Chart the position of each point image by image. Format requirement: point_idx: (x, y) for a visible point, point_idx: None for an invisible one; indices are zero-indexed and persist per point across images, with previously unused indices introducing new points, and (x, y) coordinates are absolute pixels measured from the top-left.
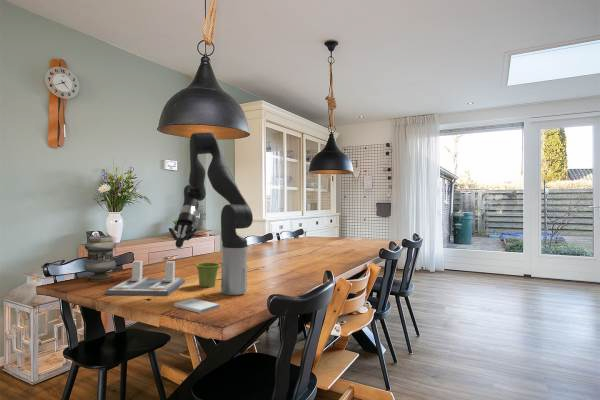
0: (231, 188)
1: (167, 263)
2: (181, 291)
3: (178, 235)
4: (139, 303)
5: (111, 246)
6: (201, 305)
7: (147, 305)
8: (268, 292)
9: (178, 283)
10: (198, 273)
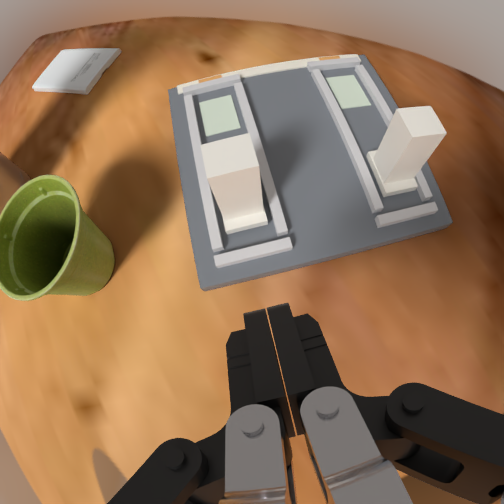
0: None
1: (237, 140)
2: (150, 151)
3: (342, 435)
4: (209, 34)
5: None
6: (62, 63)
7: (182, 33)
8: None
9: (184, 190)
10: (87, 217)
